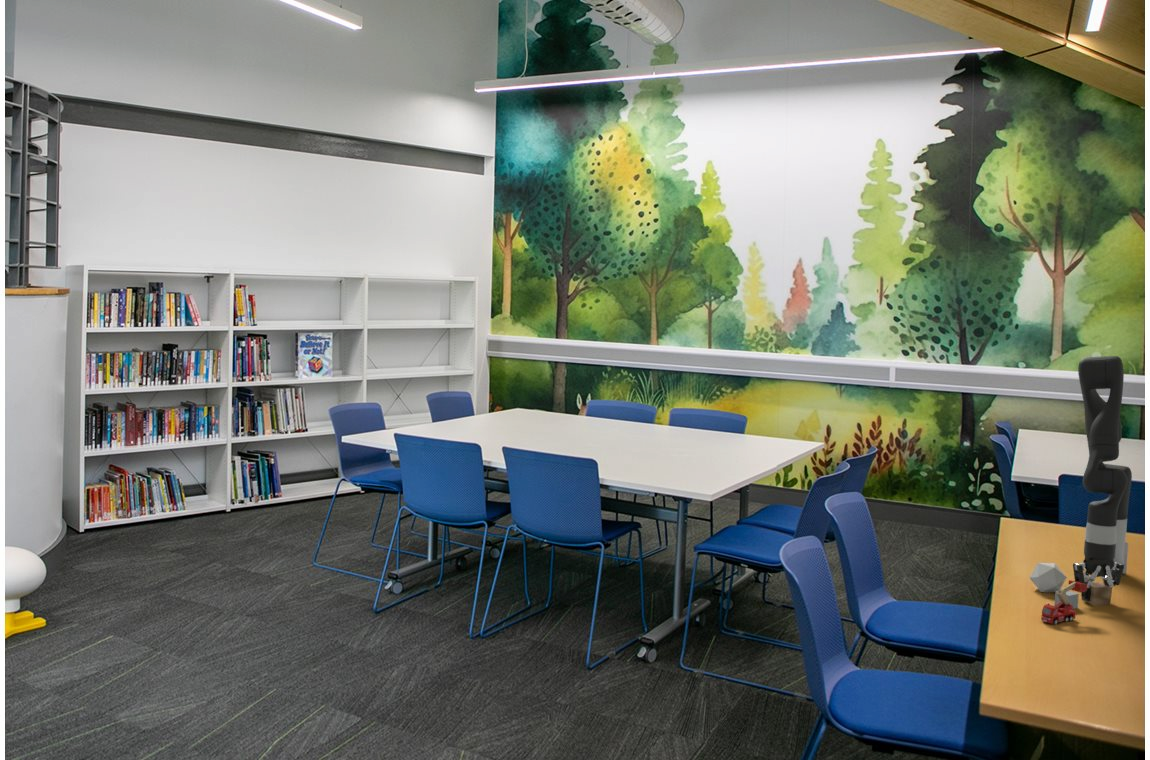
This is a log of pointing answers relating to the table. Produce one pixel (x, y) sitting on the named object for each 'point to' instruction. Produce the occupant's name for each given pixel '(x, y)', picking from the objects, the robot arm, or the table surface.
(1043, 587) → the die
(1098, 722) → the table surface
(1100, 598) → the walnut block
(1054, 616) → the toy fire truck
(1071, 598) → the slate block
